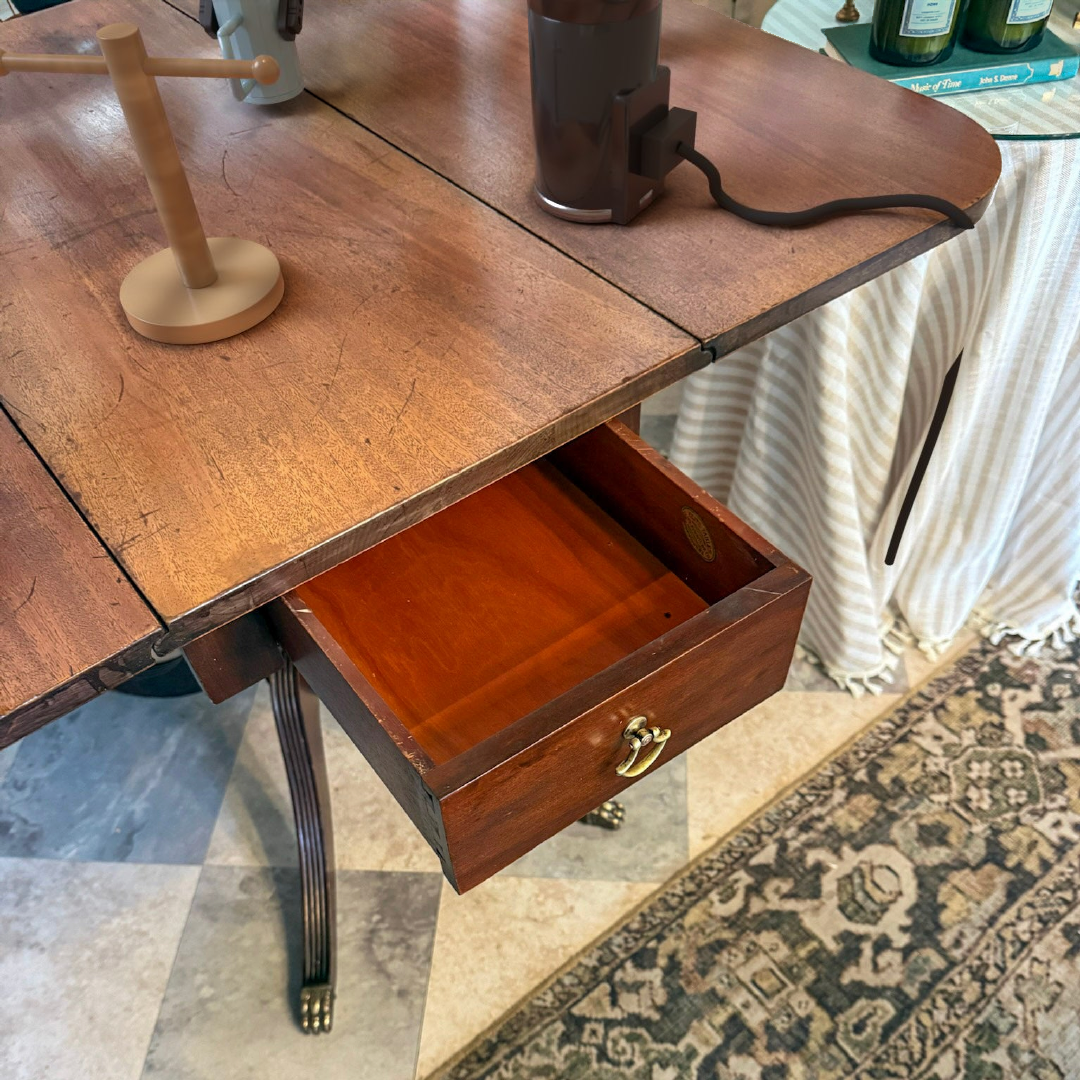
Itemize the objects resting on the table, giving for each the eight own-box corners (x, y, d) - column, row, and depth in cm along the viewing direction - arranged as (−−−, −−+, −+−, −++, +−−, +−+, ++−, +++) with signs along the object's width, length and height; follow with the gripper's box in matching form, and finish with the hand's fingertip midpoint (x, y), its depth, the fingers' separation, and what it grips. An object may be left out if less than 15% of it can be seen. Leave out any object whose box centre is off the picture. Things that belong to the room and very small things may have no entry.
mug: (251, 75, 93) (224, -31, 86) (313, 76, 92) (290, -31, 86) (211, 123, 86) (179, 12, 80) (277, 125, 86) (250, 14, 79)
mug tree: (354, 261, 73) (302, -3, 60) (307, 353, 66) (235, 75, 53) (118, 248, 76) (17, -8, 62) (47, 335, 68) (-84, 66, 55)
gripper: (160, -196, 82) (147, 14, 83) (328, -198, 80) (313, 17, 81) (204, -138, 89) (192, 54, 90) (359, -139, 87) (345, 57, 88)
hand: (249, 35), depth 86 cm, fingers closed on mug, 6 cm apart
